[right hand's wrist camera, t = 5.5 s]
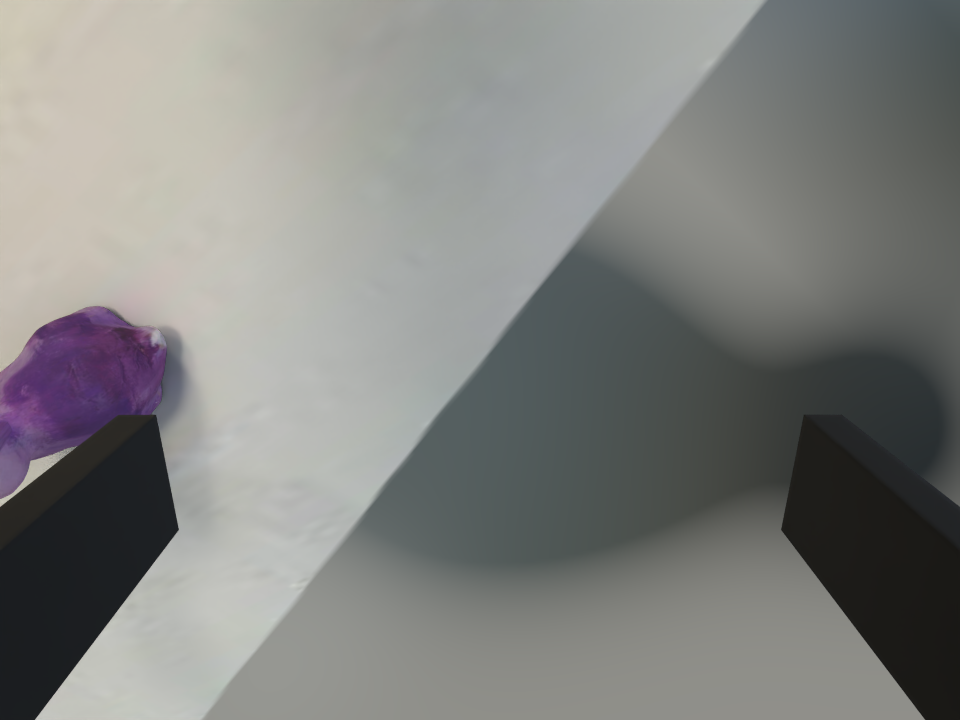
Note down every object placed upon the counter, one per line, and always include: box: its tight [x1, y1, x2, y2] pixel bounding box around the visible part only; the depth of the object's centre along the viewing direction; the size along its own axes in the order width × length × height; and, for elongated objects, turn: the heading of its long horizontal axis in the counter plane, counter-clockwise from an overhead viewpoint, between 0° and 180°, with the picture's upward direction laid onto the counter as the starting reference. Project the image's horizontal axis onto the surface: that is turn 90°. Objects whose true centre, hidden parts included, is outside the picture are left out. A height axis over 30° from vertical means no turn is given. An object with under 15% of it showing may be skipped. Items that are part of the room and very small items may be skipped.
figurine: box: [0, 306, 167, 499], centre depth 35 cm, size 9×10×15 cm
